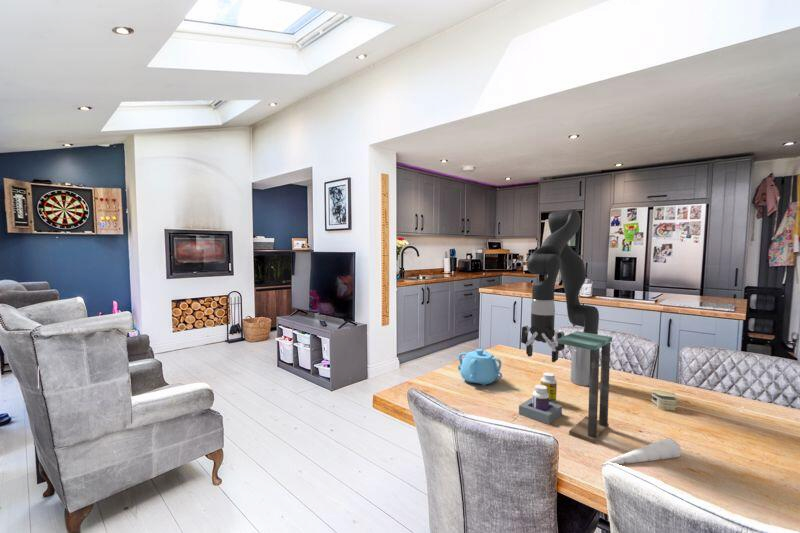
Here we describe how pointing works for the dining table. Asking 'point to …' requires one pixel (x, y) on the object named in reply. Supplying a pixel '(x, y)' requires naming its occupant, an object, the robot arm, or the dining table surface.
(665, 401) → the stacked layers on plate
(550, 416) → the socket
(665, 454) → the unicorn horn
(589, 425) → the green-topped post stand
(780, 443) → the dining table surface
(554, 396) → the supplement bottle
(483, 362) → the decorative pot
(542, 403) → the pill bottle
